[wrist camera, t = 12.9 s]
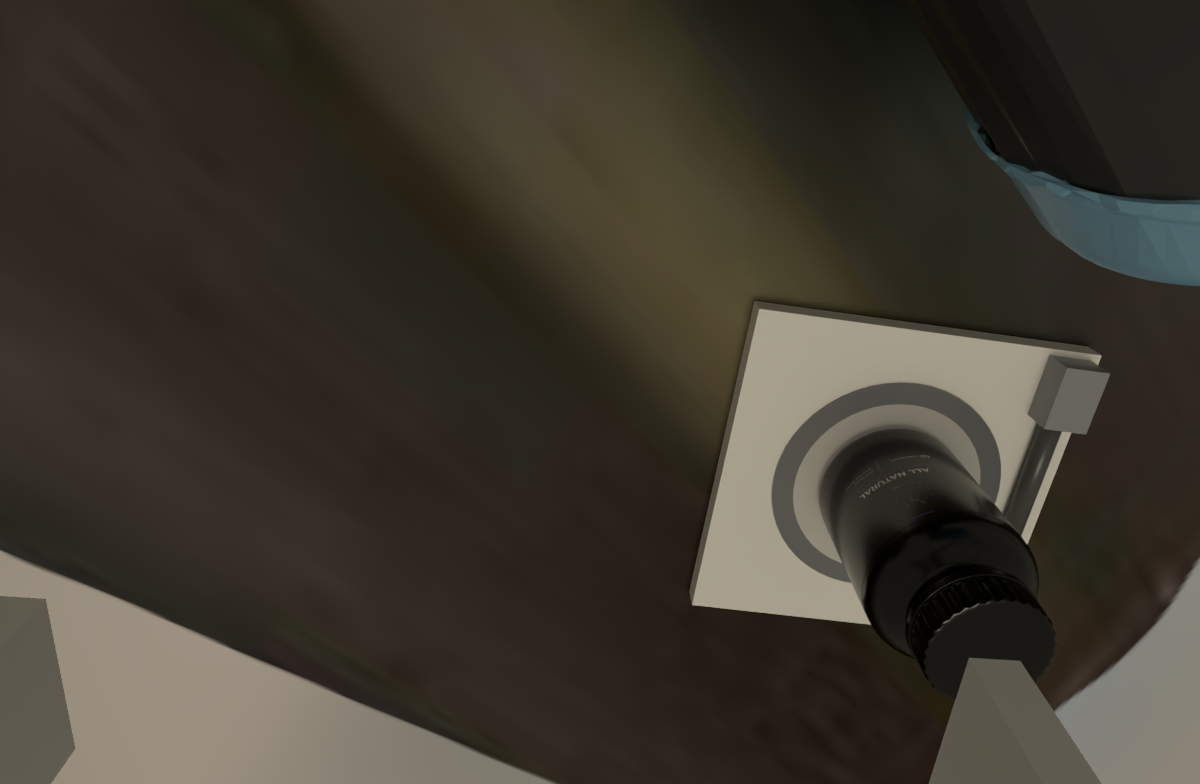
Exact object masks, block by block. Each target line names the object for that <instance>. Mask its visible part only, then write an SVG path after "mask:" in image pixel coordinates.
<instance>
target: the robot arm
mask: <svg viewBox="0 0 1200 784" xmlns="http://www.w3.org/2000/svg"><path fill="white" fill-rule="evenodd" d="M904 2H905V3H906V5H907V7H908V8H909V10H910V12H911V13H912V15H913V17H914V18H915V20H916V22H917V24H918V25H919V27H920V29H921V30H922V32H923V34H924V35H925V37H926V39H927V41H928V42H929V44H930V46H931V47H932V49H933V51H934V52H935V54H936V56H937V57H938V59H939V61H940V63H941V64H942V66H943V68H944V69H945V71H946V73H947V74H948V76H949V78H950V80H951V81H952V83H953V85H954V86H955V88H956V90H957V91H958V93H959V95H960V96H961V98H962V100H963V102H964V103H965V108H964V117H965V120H966V123H967V125H968V127H969V129H970V131H971V133H972V135H973V137H974V139H975V141H976V142H977V144H978V146H979V147H980V148H981V150H982V151H983V152H984V153H985V154H986V155H987V156H988V157H989V158H990V159H992V160H994V161H995V162H996V163H997V164H998V166H999V167H1000V168H1001V169H1002V170H1003V171H1004V172H1006V173H1007V174H1008V175H1009V177H1010V178H1011V180H1012V181H1013V183H1014V184H1015V186H1016V187H1017V189H1018V190H1019V192H1020V193H1021V195H1022V196H1023V198H1024V199H1025V201H1026V202H1027V204H1028V205H1029V207H1030V208H1031V210H1032V211H1033V213H1034V214H1035V216H1036V217H1037V219H1038V220H1039V222H1040V223H1041V224H1042V225H1043V227H1044V228H1045V229H1046V230H1047V231H1048V232H1049V233H1050V234H1051V235H1052V236H1053V237H1054V238H1056V239H1057V240H1058V241H1060V242H1062V243H1064V244H1065V245H1066V246H1067V247H1069V248H1070V249H1072V250H1073V251H1075V252H1076V253H1077V254H1079V255H1080V256H1081V257H1083V258H1084V259H1087V260H1089V261H1091V262H1093V263H1095V264H1097V265H1099V266H1101V267H1104V268H1107V269H1110V270H1112V271H1116V272H1119V273H1122V274H1125V275H1129V276H1133V277H1137V278H1141V279H1146V280H1151V281H1156V282H1162V283H1169V284H1178V285H1188V286H1200V0H904ZM74 750H75V745H74V740H73V735H72V730H71V725H70V720H69V715H68V710H67V705H66V700H65V694H64V689H63V684H62V679H61V674H60V669H59V664H58V660H57V654H56V649H55V644H54V639H53V634H52V629H51V624H50V619H49V614H48V609H47V604H46V599H36V598H20V597H4V596H0V784H51V783H52V781H53V780H54V778H55V777H56V775H57V774H58V773H59V771H60V770H61V768H62V767H63V765H64V764H65V763H66V761H67V760H68V758H69V757H70V755H71V754H72V752H73V751H74ZM929 784H1101V782H1100V781H1099V779H1098V778H1097V776H1096V775H1095V773H1094V772H1093V770H1092V769H1091V767H1090V766H1089V764H1088V763H1087V761H1086V760H1085V758H1084V757H1083V755H1082V754H1081V752H1080V751H1079V749H1078V748H1077V746H1076V745H1075V743H1074V742H1073V740H1072V739H1071V737H1070V736H1069V734H1068V733H1067V731H1066V730H1065V728H1064V726H1063V725H1062V723H1061V722H1060V720H1059V719H1058V717H1057V716H1056V714H1055V713H1054V711H1053V710H1052V708H1051V707H1050V705H1049V704H1048V702H1047V701H1046V699H1045V698H1044V696H1043V695H1042V693H1041V692H1040V690H1039V688H1038V687H1037V685H1036V684H1035V682H1034V681H1033V679H1032V678H1031V676H1030V675H1029V673H1028V672H1027V670H1026V669H1025V667H1024V666H1023V664H1022V663H1021V661H1013V660H998V659H982V658H969V659H968V662H967V666H966V669H965V672H964V675H963V678H962V681H961V684H960V688H959V691H958V694H957V697H956V700H955V703H954V706H953V709H952V713H951V716H950V719H949V722H948V725H947V728H946V731H945V735H944V738H943V741H942V744H941V747H940V750H939V753H938V756H937V760H936V763H935V766H934V769H933V772H932V775H931V778H930V782H929Z"/></svg>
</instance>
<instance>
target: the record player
mask: <svg viewBox="0 0 1200 784" xmlns="http://www.w3.org/2000/svg"><path fill="white" fill-rule="evenodd" d="M1100 359H1101V355H1100V354H1098V353H1097V352H1095V351H1094V350H1092V349H1091V348H1089V347H1087V346H1080V345H1073V344H1065V343H1058V342H1051V341H1044V340H1036V339H1029V338H1022V337H1014V336H1007V335H1000V334H993V333H985V332H978V331H971V330H964V329H956V328H949V327H942V326H934V325H927V324H920V323H913V322H905V321H898V320H891V319H883V318H876V317H869V316H862V315H854V314H847V313H840V312H832V311H825V310H818V309H811V308H803V307H796V306H789V305H781V304H774V303H767V302H760V301H754V305H753V309H752V313H751V318H750V322H749V327H748V331H747V336H746V340H745V345H744V349H743V354H742V358H741V363H740V367H739V371H738V376H737V380H736V385H735V389H734V394H733V398H732V403H731V407H730V412H729V416H728V421H727V425H726V430H725V434H724V438H723V443H722V447H721V452H720V456H719V461H718V465H717V470H716V474H715V479H714V483H713V488H712V492H711V496H710V501H709V505H708V510H707V514H706V519H705V523H704V528H703V532H702V537H701V541H700V546H699V550H698V554H697V559H696V563H695V568H694V572H693V577H692V581H691V586H690V590H689V592H690V597H691V602H692V605H697V606H707V607H716V608H725V609H734V610H743V611H752V612H761V613H770V614H779V615H788V616H797V617H807V618H816V619H825V620H834V621H843V622H852V623H861V624H870V625H871V623H870V621H869V620H868V618H867V616H866V614H865V612H864V609H863V607H862V605H861V603H860V601H859V598H858V596H857V594H856V592H855V590H854V588H853V585H852V583H851V581H850V579H849V577H848V574H847V572H846V570H845V568H844V566H843V563H842V561H841V559H840V557H839V555H838V553H837V550H836V548H835V546H834V544H833V542H832V539H831V537H830V535H829V533H828V530H827V528H826V526H825V523H824V521H823V518H822V515H821V511H820V506H819V492H820V486H821V482H822V479H823V476H824V474H825V472H826V470H827V468H828V466H829V465H830V463H831V462H832V460H833V459H834V458H835V457H836V456H837V454H838V453H840V452H841V451H842V450H843V449H844V448H845V447H846V446H847V445H849V444H850V443H852V442H853V441H855V440H857V439H858V438H860V437H863V436H865V435H867V434H870V433H873V432H876V431H880V430H885V429H894V428H902V429H911V430H916V431H920V432H923V433H926V434H928V435H930V436H932V437H934V438H936V439H937V440H939V441H940V442H942V443H943V444H944V445H945V446H946V447H947V448H948V449H949V450H950V451H951V452H952V453H953V454H954V455H955V456H956V458H957V459H958V460H959V461H960V462H961V463H962V465H963V466H964V467H965V468H966V469H967V471H968V472H969V473H970V474H971V476H972V477H973V478H974V479H975V480H976V482H977V483H978V484H979V485H980V487H981V488H982V489H983V490H984V491H985V493H986V494H987V495H988V496H989V498H990V499H991V500H992V501H993V502H994V504H995V505H996V506H997V507H998V509H999V510H1000V511H1001V512H1002V513H1003V515H1004V516H1005V517H1006V518H1007V520H1008V521H1009V522H1010V523H1011V524H1012V526H1013V527H1014V528H1015V529H1016V531H1017V532H1018V533H1019V534H1020V536H1021V537H1022V538H1023V539H1024V541H1025V542H1026V544H1028V541H1029V539H1030V536H1031V534H1032V531H1033V529H1034V526H1035V524H1036V521H1037V519H1038V516H1039V514H1040V511H1041V508H1042V506H1043V503H1044V501H1045V498H1046V496H1047V493H1048V491H1049V488H1050V486H1051V483H1052V481H1053V478H1054V475H1055V473H1056V470H1057V468H1058V465H1059V463H1060V460H1061V458H1062V455H1063V453H1064V450H1065V448H1066V445H1067V442H1068V440H1069V437H1070V435H1071V433H1078V434H1086V433H1087V431H1088V428H1089V426H1090V423H1091V421H1092V418H1093V416H1094V413H1095V411H1096V408H1097V406H1098V403H1099V401H1100V398H1101V396H1102V393H1103V391H1104V388H1105V386H1106V383H1107V381H1108V378H1109V376H1110V373H1109V372H1107V371H1106V370H1104V369H1103V368H1101V367H1100V366H1098V364H1099V361H1100Z"/></svg>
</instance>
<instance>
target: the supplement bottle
mask: <svg viewBox="0 0 1200 784" xmlns="http://www.w3.org/2000/svg"><path fill="white" fill-rule="evenodd" d="M819 506H820V511H821V515H822V518H823V521H824V523H825V526H826V528H827V530H828V533H829V535H830V537H831V539H832V542H833V544H834V546H835V548H836V550H837V553H838V555H839V557H840V559H841V561H842V563H843V566H844V568H845V570H846V572H847V574H848V577H849V579H850V581H851V583H852V585H853V588H854V590H855V592H856V594H857V596H858V598H859V601H860V603H861V605H862V607H863V609H864V612H865V614H866V616H867V618H868V620H869V621H870V623H871V625H872V627H873V628H874V630H875V631H876V633H877V634H878V635H879V636H880V638H881V639H882V640H883V641H884V642H886V643H887V644H888V645H889V646H891V647H892V648H893V649H895V650H896V651H898V652H900V653H902V654H904V655H906V656H908V657H910V658H913V659H915V660H916V661H917V663H918V664H919V665H920V667H921V669H922V671H923V673H924V675H925V677H926V678H927V680H928V681H929V682H930V683H931V685H932V686H933V688H934V689H936V690H939V691H940V693H941V694H942V695H943V696H948V697H950V699H952V700H956V697H957V694H958V691H959V688H960V684H961V681H962V678H963V675H964V672H965V669H966V666H967V662H968V659H969V658H982V659H998V660H1013V661H1021V663H1022V664H1023V666H1024V667H1025V669H1026V670H1027V672H1028V673H1029V675H1030V676H1031V678H1032V679H1033V681H1034V682H1035V683H1036V682H1037V680H1038V679H1039V678H1040V677H1042V676H1043V675H1044V673H1045V670H1046V669H1047V668H1048V667H1049V666H1050V665H1051V660H1052V658H1053V657H1054V656H1055V652H1054V650H1055V648H1056V646H1057V644H1056V642H1055V638H1056V633H1055V631H1054V630H1053V624H1052V622H1051V620H1050V619H1049V618H1048V616H1047V615H1046V613H1045V611H1044V610H1043V609H1042V607H1041V606H1040V604H1039V602H1038V600H1037V595H1038V588H1039V576H1038V568H1037V564H1036V561H1035V558H1034V556H1033V554H1032V552H1031V550H1030V548H1029V547H1028V545H1027V544H1026V542H1025V541H1024V539H1023V538H1022V537H1021V536H1020V534H1019V533H1018V532H1017V531H1016V529H1015V528H1014V527H1013V526H1012V524H1011V523H1010V522H1009V521H1008V520H1007V518H1006V517H1005V516H1004V515H1003V513H1002V512H1001V511H1000V510H999V509H998V507H997V506H996V505H995V504H994V502H993V501H992V500H991V499H990V498H989V496H988V495H987V494H986V493H985V491H984V490H983V489H982V488H981V487H980V485H979V484H978V483H977V482H976V480H975V479H974V478H973V477H972V476H971V474H970V473H969V472H968V471H967V469H966V468H965V467H964V466H963V465H962V463H961V462H960V461H959V460H958V459H957V458H956V456H955V455H954V454H953V453H952V452H951V451H950V450H949V449H948V448H947V447H946V446H945V445H944V444H943V443H942V442H940V441H939V440H937V439H936V438H934V437H932V436H930V435H928V434H926V433H923V432H920V431H916V430H911V429H902V428H894V429H885V430H880V431H876V432H873V433H870V434H867V435H865V436H863V437H860V438H858V439H857V440H855V441H853V442H852V443H850V444H849V445H847V446H846V447H845V448H844V449H843V450H842V451H841V452H840V453H838V454H837V456H836V457H835V458H834V459H833V460H832V462H831V463H830V465H829V466H828V468H827V470H826V472H825V474H824V476H823V479H822V482H821V486H820V492H819Z"/></svg>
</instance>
